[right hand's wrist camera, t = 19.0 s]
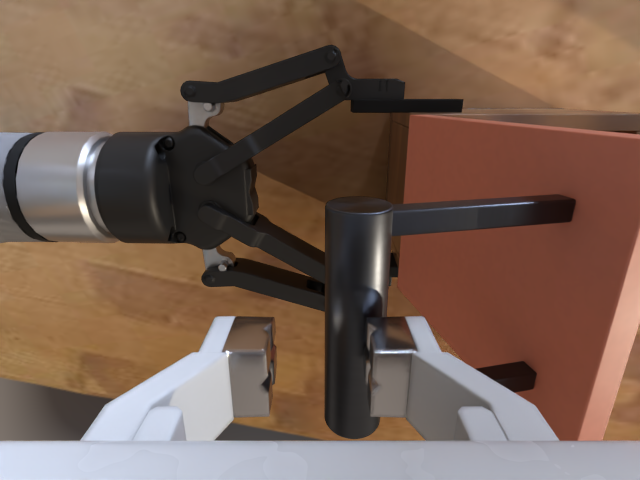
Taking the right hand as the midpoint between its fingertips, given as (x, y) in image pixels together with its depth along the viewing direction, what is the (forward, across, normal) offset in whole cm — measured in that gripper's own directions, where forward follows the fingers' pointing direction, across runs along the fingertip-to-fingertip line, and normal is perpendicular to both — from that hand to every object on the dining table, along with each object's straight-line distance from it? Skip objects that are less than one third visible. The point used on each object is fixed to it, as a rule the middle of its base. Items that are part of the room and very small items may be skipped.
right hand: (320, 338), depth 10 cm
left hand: (+17, +8, 0) cm, 19 cm away
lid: (+7, +7, 0) cm, 10 cm away
